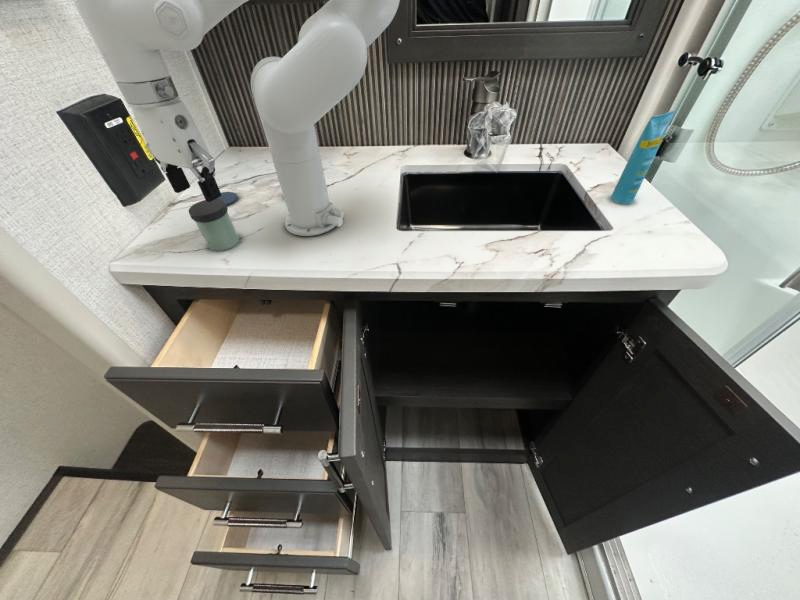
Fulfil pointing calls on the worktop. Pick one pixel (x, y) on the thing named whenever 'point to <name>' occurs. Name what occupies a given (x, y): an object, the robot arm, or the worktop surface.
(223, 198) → the coaster
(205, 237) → the jar
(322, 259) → the worktop surface
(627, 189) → the tube
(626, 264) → the worktop surface
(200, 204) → the lid
